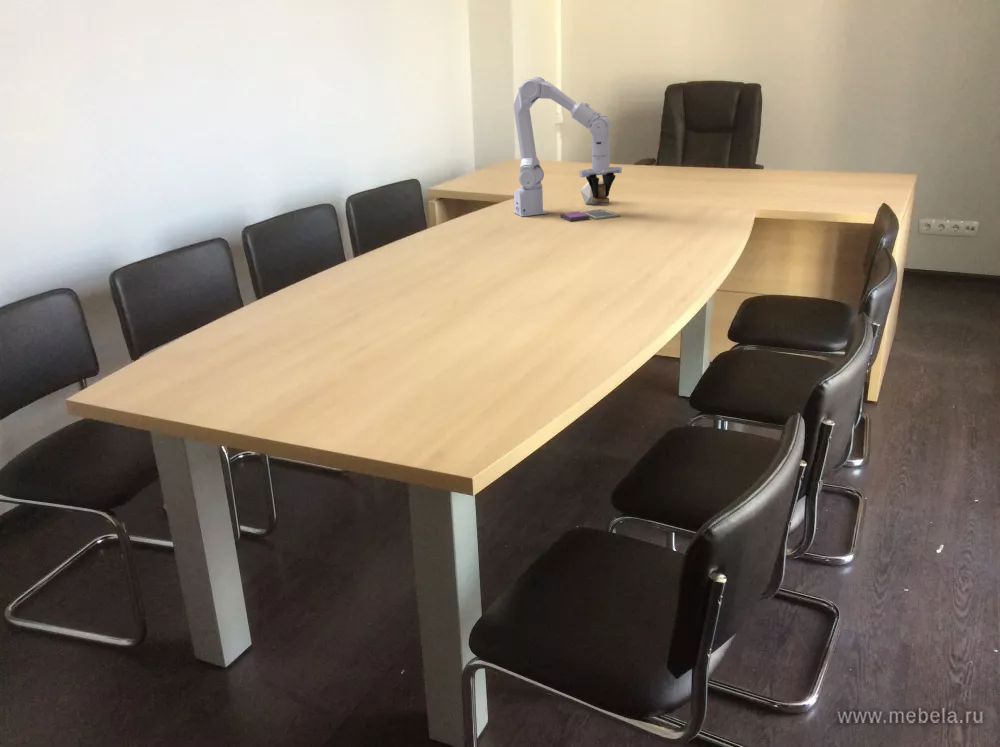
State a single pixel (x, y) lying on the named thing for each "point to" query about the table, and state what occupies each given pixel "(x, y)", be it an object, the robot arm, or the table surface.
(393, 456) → the table surface
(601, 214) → the grey framed plate
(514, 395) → the table surface
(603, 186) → the stamp
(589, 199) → the die
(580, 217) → the ink pad
